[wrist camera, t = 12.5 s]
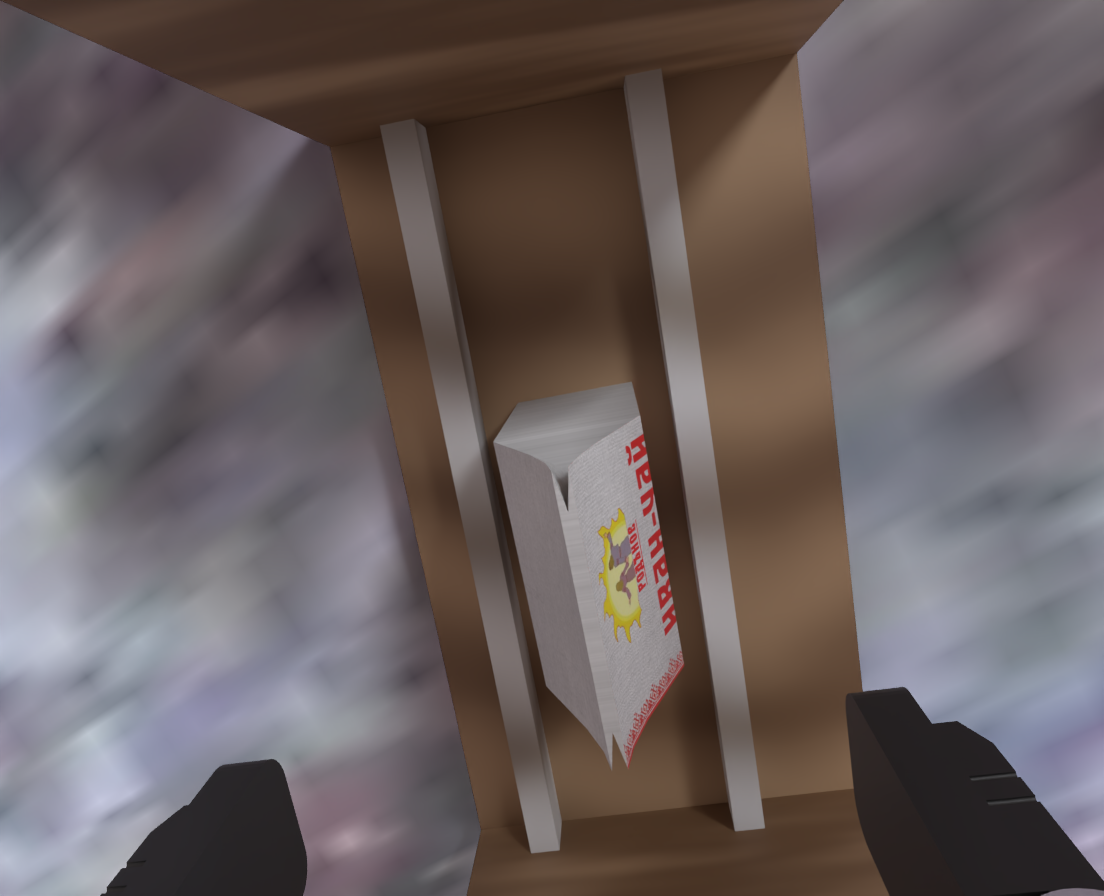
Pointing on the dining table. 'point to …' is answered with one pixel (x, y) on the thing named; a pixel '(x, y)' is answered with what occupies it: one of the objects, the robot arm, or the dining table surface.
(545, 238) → the wooden rack
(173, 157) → the dining table surface
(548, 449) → the white food carton
